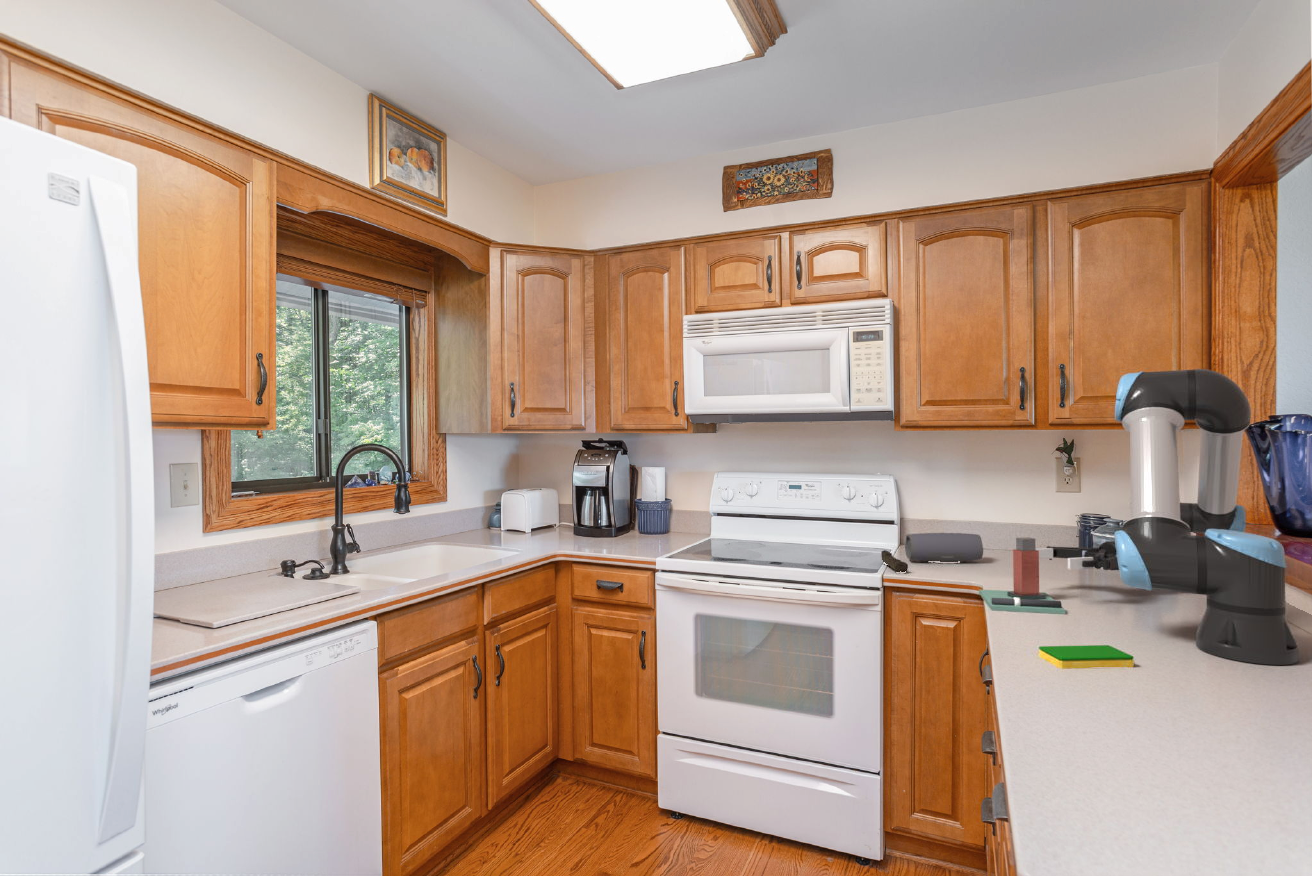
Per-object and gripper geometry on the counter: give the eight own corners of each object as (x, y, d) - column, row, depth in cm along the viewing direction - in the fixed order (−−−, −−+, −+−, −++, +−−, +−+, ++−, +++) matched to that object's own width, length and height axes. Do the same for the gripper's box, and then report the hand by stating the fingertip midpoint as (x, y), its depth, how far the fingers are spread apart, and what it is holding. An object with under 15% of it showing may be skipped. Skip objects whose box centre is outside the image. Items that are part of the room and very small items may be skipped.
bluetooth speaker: (973, 560, 230) (973, 530, 230) (984, 565, 220) (983, 535, 220) (904, 560, 232) (904, 530, 232) (912, 565, 223) (911, 535, 223)
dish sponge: (1135, 669, 125) (1134, 656, 125) (1060, 671, 125) (1060, 657, 125) (1108, 657, 132) (1108, 644, 132) (1038, 658, 132) (1037, 645, 132)
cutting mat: (1065, 614, 161) (1065, 601, 161) (991, 610, 166) (991, 598, 166) (1045, 596, 178) (1045, 585, 178) (978, 593, 183) (978, 582, 183)
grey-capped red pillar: (1045, 599, 171) (1045, 539, 171) (1020, 600, 170) (1019, 540, 170) (1032, 594, 176) (1031, 536, 176) (1007, 596, 175) (1006, 537, 175)
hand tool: (908, 574, 209) (908, 559, 209) (895, 574, 209) (895, 559, 209) (891, 563, 228) (891, 549, 228) (879, 563, 228) (879, 549, 228)
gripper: (1164, 579, 165) (1087, 584, 162) (1084, 560, 190) (1015, 564, 187) (1163, 548, 165) (1086, 552, 162) (1084, 534, 190) (1015, 537, 187)
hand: (1048, 558), depth 174 cm, fingers open, 13 cm apart
